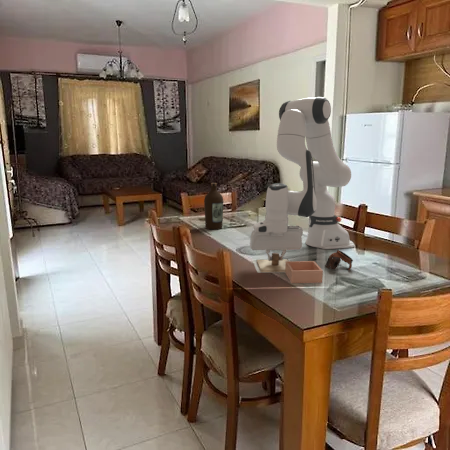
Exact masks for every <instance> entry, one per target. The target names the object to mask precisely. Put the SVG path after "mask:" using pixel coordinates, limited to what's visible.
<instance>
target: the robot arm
mask: <svg viewBox="0 0 450 450" xmlns="http://www.w3.org/2000/svg"><path fill="white" fill-rule="evenodd" d="M278 110H279V111H278V119H279V120H280V121H279V125H278V130H277V138H276V150H277V152H278V154H279V156H281V157H283V159H286V160H287V161H289V162H292V163H294V164H296V165H298V167H299V178H300V180H301V181H302V185H303V188H302V190H289V188H288V187H289V186H288V185H287V184H285V183H282V182H281V183H280V182H277V183H272V184H269V186H268V187H267V190H266V197H265V212H266V213H265V214H266V215H265V217H264V219H265V220H262V221H260V222H256V223H254V224H253V227H252V228H253V230H252V232H251V234H250V239H249V247H250V250H252V251H265V253H266V255H267V260H268V261H272V254H271V255H270V254H269V253H270V252H271V251H281V253H280V254H279V261H283V259H284V256H285V255H286V254H287V251H289V250H291V251H293V250H294V251H295V250H296V251H297V250H301V249H302V247H303V240H302V239H303V238H302V236H303V232H304V230H303V228H302V227H301V226H299V225H289V216H298V217H301V218H308V226H309V227H308V231H307V236H306V240H305V242H304V243H305V244H306V245H307V246H310V247H313V248H318V249H319V248H320V249H323V250H335V249H347V248H354V247H355V243H354V241H352V240H350V235H349V231H347V230H346V229H345V227H343V226H342V225H340V224H339V223H340V222H342V217H340V216H336V215H335V210H336V209H335V208H336V200H335V197H334V196H333V195H332V194H331V193H330V192H329V191H328V190H329V189H328V187H329V188H330V187H332V188H341V187H346V186H347V185H348V184H349V183H350V182H351V178H352V171H351V168H350V166H348V165H347V164H346V163H345V162H344V161H342V159H340V157H339V155H338V154H337V152H336V150H335V147H334V143H333V138H332V133H331V132H332V131H331V127H330V122H329V119H330V117H331V113H332V107H331V103H330V101H329V100H328V99H327V98H326V97H322V96H316V97H303V98H299V99H293V100H287V101H284V102H283V103H282V104H281V106H280V108H279V109H278ZM313 159H315V160H314V161H313Z"/></svg>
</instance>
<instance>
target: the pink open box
mask: <svg viewBox="0 0 450 450" xmlns="http://www.w3.org/2000/svg"><path fill="white" fill-rule="evenodd" d="M323 273H324V270H323V269H322V268H321V267H320V265H318V263H317V262H316V261H315V260H309V261H308V260H302V261H301V260H297V261H295V260H294V261H293V260H289V261H286V265H285V272H284V274H285V275H286V277H287V278H288V280H289V281H290V283H291V284H313V283H314V284H315V283H316V284H317V283H318V284H319V283H322V284H323V276H324V274H323Z"/></svg>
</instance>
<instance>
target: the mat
mask: <svg viewBox="0 0 450 450" xmlns="http://www.w3.org/2000/svg"><path fill="white" fill-rule="evenodd" d="M252 264H253V265H254V268H255V270H256V273H259V274H260V273H263V274H264V273H265V274H266V273H273V272H261V270H260V268H259V266H258V264H257V260H254V261H252Z"/></svg>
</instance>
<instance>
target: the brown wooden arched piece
mask: <svg viewBox="0 0 450 450" xmlns="http://www.w3.org/2000/svg"><path fill="white" fill-rule="evenodd" d="M341 262H344V263H347V265H349V267H348V268H347V269H348V271H351V269H352V267H353V262H354V260H353V259H352V258H351V256H349V255H348V254H346V253H345V252H343V251H341V250H336V252H333V253H331V254H330V255H329V256H328V258H327V261H326V262H325V265H324V266H325V269H326V268H327V269H331V270H332V271H333V270H334V271H336V270H337V268H338V266H339V265H340V263H341Z"/></svg>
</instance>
